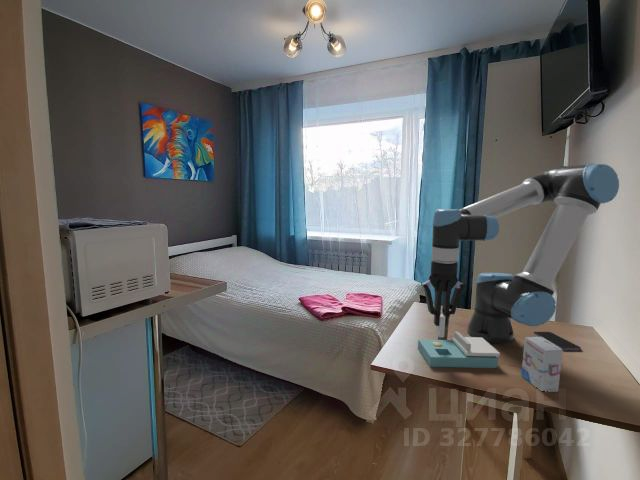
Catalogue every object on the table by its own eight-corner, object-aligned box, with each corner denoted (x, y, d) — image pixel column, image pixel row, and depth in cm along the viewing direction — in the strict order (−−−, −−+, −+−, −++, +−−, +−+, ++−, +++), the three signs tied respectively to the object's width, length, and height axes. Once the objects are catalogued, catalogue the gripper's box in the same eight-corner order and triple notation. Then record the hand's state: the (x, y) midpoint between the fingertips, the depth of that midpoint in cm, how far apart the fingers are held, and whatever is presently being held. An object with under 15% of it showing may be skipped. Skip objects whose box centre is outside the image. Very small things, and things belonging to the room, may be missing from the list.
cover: (481, 340, 112) (482, 331, 111) (499, 356, 101) (500, 346, 100) (451, 339, 111) (452, 330, 111) (466, 355, 100) (467, 345, 100)
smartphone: (550, 331, 128) (583, 348, 114) (549, 334, 129) (583, 351, 114) (531, 331, 128) (562, 348, 113) (531, 334, 128) (562, 351, 113)
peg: (444, 340, 119) (447, 312, 117) (448, 344, 116) (450, 316, 114) (436, 340, 119) (438, 312, 117) (439, 343, 116) (441, 315, 114)
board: (477, 349, 113) (478, 340, 112) (497, 368, 101) (498, 358, 100) (417, 348, 112) (418, 339, 112) (429, 366, 100) (430, 356, 100)
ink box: (519, 375, 97) (524, 335, 95) (535, 374, 98) (540, 335, 96) (541, 392, 89) (546, 349, 87) (559, 392, 89) (565, 349, 87)
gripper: (460, 258, 106) (456, 330, 109) (419, 258, 106) (415, 330, 109) (471, 263, 98) (466, 340, 102) (426, 263, 98) (423, 340, 102)
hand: (440, 335), depth 105 cm, fingers closed
